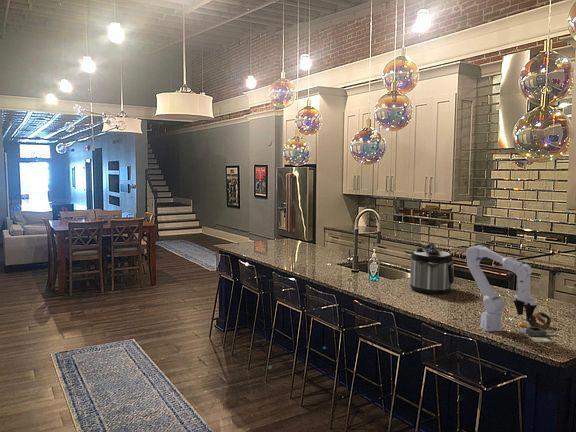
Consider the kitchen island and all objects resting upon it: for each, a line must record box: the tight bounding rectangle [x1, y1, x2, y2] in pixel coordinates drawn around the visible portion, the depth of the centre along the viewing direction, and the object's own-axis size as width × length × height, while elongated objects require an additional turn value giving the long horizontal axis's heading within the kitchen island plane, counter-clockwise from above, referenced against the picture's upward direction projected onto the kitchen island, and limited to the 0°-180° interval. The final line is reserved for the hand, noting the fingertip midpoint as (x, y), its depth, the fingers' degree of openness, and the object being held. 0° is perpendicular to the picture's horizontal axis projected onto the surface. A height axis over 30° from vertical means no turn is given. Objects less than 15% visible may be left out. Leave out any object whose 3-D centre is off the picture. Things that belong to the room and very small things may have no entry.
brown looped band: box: [525, 311, 552, 330], centre depth 250 cm, size 12×10×8 cm
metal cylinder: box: [518, 321, 528, 338], centre depth 235 cm, size 3×3×7 cm
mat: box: [528, 337, 552, 343], centre depth 230 cm, size 8×5×1 cm, turn 94°
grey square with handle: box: [526, 326, 555, 338], centre depth 237 cm, size 13×7×3 cm, turn 94°
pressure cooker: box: [409, 242, 455, 295], centre depth 324 cm, size 30×28×32 cm
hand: (524, 316), depth 234 cm, fingers open, 7 cm apart
